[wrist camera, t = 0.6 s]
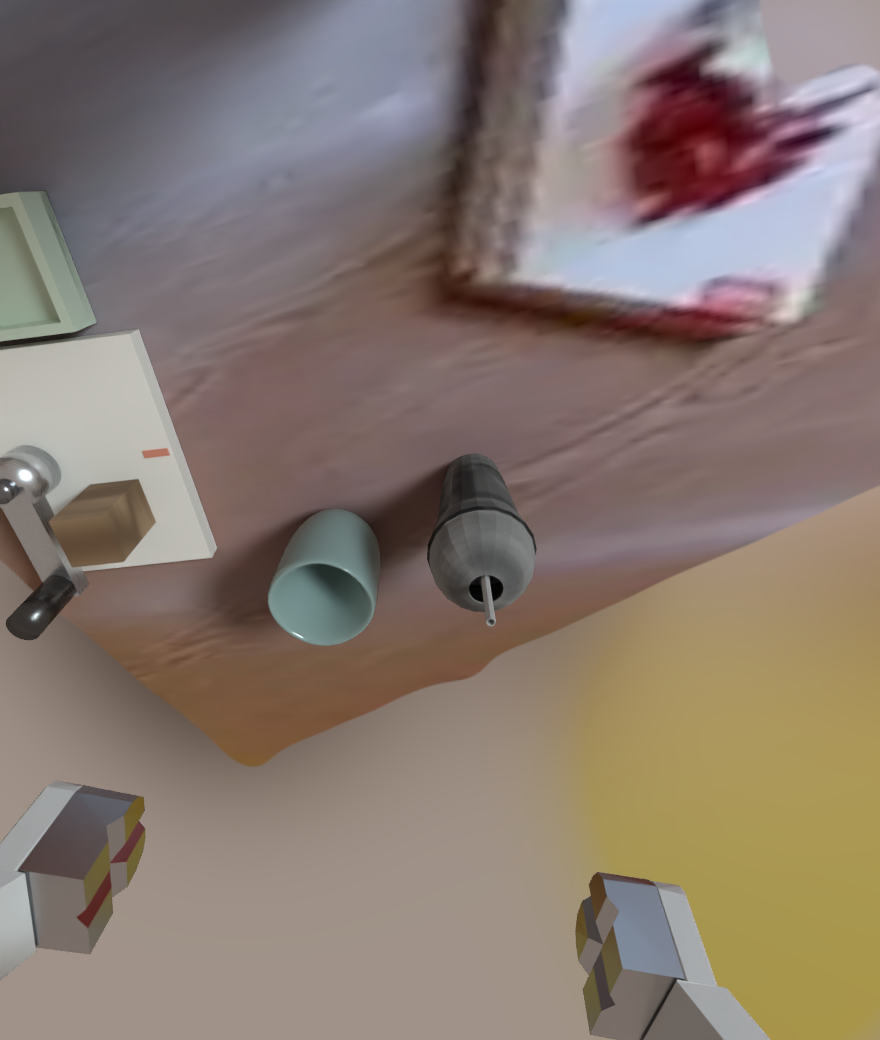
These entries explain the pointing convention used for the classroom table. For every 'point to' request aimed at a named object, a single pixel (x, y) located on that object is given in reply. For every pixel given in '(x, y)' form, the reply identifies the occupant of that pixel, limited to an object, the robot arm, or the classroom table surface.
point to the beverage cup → (480, 540)
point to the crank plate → (104, 433)
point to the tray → (37, 272)
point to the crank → (37, 537)
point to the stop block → (103, 523)
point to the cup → (327, 579)
